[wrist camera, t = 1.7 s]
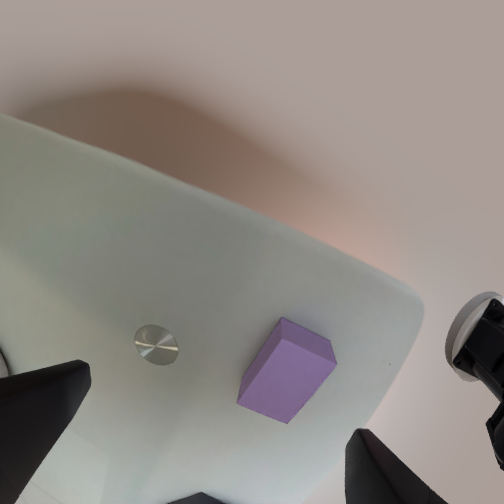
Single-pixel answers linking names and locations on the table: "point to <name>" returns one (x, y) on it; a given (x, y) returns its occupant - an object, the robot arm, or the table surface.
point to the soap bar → (286, 371)
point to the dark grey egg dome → (3, 368)
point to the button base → (198, 500)
